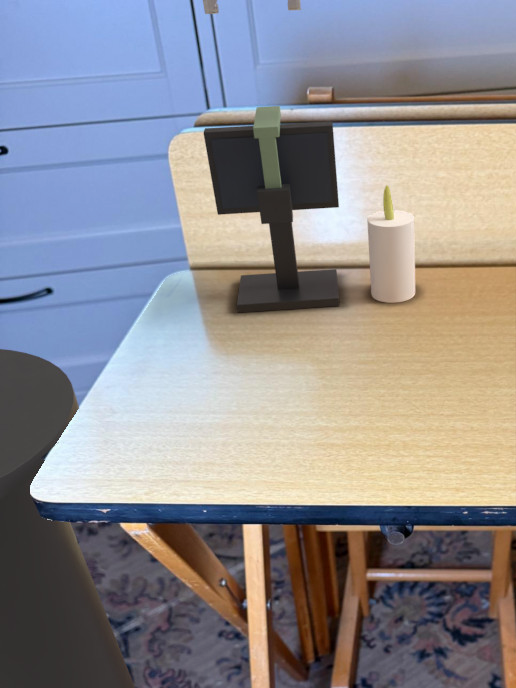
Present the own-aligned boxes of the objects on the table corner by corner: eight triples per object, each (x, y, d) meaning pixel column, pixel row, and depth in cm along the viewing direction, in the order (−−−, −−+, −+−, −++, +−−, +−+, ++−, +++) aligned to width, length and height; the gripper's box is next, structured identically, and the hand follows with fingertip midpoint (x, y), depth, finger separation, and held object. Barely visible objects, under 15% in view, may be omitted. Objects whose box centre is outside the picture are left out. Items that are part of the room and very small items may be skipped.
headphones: (261, 224, 101) (248, 130, 94) (264, 193, 110) (252, 105, 103) (292, 222, 101) (282, 128, 94) (293, 191, 110) (283, 103, 103)
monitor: (230, 313, 110) (200, 141, 95) (235, 283, 117) (207, 119, 103) (346, 305, 110) (333, 134, 96) (343, 276, 118) (331, 113, 103)
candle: (421, 285, 115) (420, 176, 105) (407, 304, 110) (405, 192, 100) (380, 281, 116) (375, 173, 106) (364, 299, 112) (358, 189, 102)
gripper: (127, -144, 79) (158, 19, 88) (332, -150, 80) (342, 12, 90) (137, -144, 84) (165, 11, 93) (330, -150, 85) (339, 3, 94)
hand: (253, 11), depth 91 cm, fingers open, 8 cm apart
